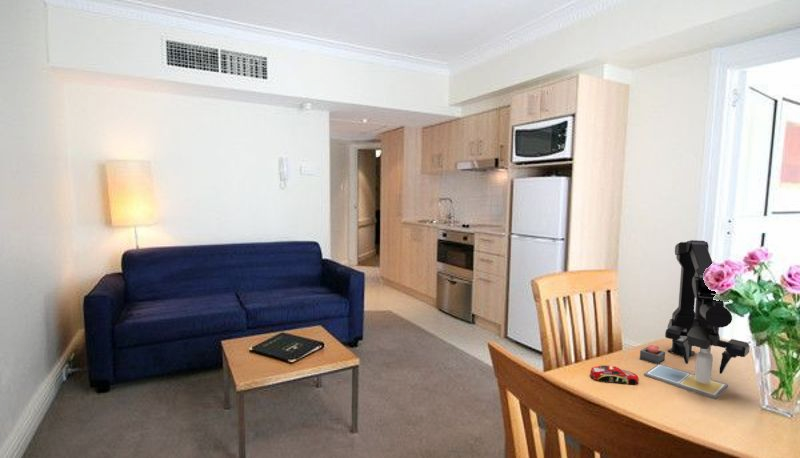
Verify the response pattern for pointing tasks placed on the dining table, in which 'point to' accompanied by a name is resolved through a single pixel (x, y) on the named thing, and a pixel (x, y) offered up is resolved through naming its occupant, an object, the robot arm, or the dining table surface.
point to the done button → (652, 349)
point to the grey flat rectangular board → (686, 381)
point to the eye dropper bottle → (704, 366)
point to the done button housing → (652, 356)
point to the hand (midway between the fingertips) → (703, 368)
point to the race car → (613, 375)
